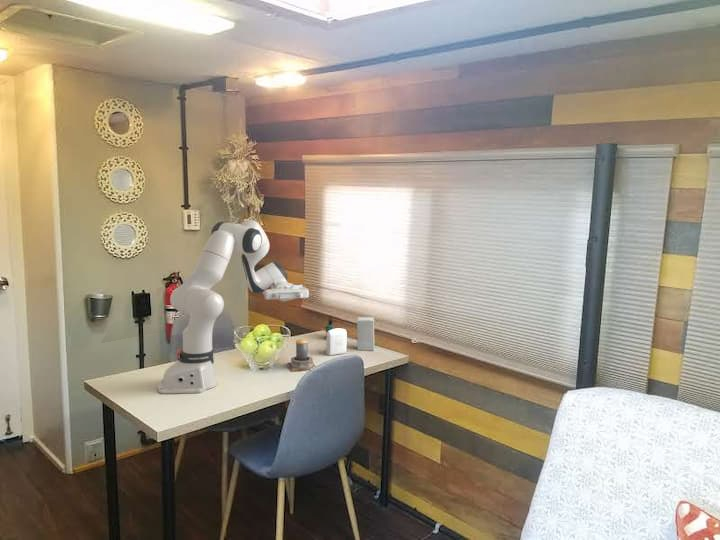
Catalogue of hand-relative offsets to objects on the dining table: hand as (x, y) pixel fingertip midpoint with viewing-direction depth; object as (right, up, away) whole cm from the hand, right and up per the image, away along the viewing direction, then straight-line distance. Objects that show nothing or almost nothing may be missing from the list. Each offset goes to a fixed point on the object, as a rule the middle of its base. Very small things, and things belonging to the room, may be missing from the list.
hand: (289, 297), depth 244 cm
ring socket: (+6, -31, -3) cm, 32 cm away
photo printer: (+20, -28, +18) cm, 39 cm away
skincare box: (+34, -27, +26) cm, 51 cm away
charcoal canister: (+6, -30, -3) cm, 31 cm away
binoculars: (+18, -25, +45) cm, 54 cm away
